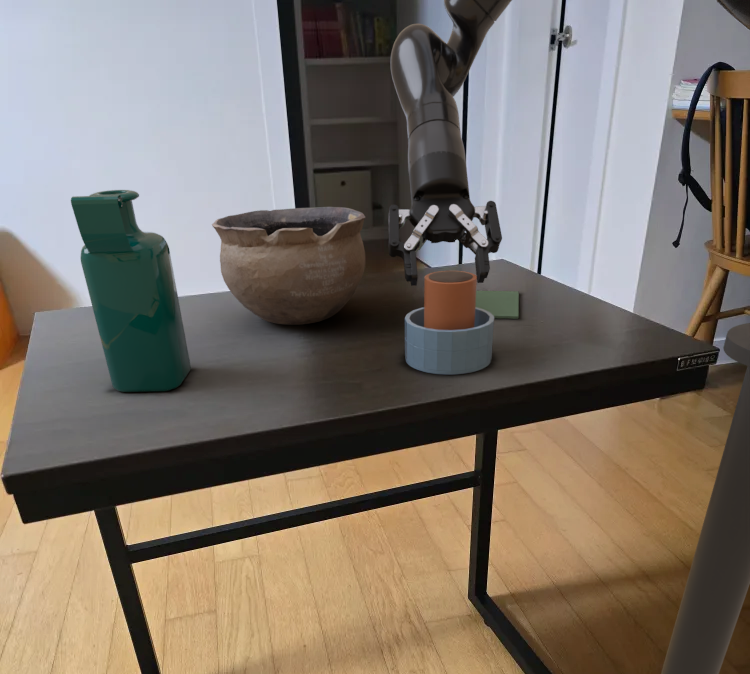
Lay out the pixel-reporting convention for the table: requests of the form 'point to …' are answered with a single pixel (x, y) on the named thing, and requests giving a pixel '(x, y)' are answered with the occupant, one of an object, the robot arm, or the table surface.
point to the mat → (499, 303)
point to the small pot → (449, 300)
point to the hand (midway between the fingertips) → (448, 281)
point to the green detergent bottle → (131, 294)
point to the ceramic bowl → (292, 261)
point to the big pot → (448, 345)
